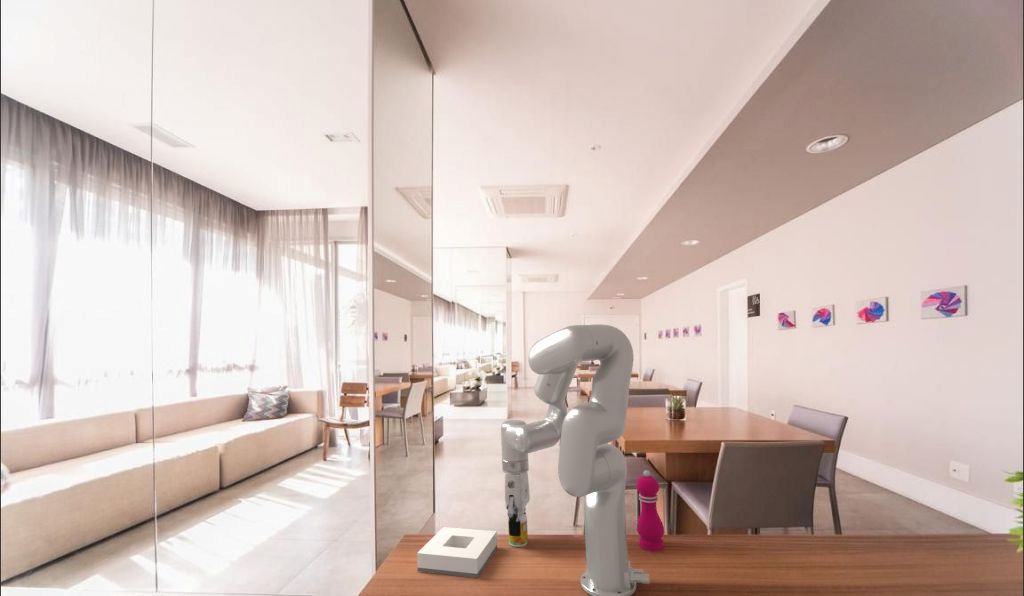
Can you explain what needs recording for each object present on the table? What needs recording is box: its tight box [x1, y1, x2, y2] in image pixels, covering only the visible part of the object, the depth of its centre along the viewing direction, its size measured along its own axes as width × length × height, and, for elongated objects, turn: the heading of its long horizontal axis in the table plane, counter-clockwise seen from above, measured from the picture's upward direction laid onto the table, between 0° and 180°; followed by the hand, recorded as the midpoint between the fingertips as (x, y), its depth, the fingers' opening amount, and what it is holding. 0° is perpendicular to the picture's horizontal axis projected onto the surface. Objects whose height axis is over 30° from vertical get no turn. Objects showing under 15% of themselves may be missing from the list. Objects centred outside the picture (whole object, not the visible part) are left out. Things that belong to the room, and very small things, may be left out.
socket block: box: [416, 526, 498, 579], centre depth 121 cm, size 16×16×4 cm
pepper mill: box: [635, 469, 665, 552], centre depth 125 cm, size 7×7×20 cm
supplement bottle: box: [507, 507, 529, 548], centre depth 129 cm, size 5×5×10 cm
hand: (517, 530), depth 129 cm, fingers closed on supplement bottle, 5 cm apart
